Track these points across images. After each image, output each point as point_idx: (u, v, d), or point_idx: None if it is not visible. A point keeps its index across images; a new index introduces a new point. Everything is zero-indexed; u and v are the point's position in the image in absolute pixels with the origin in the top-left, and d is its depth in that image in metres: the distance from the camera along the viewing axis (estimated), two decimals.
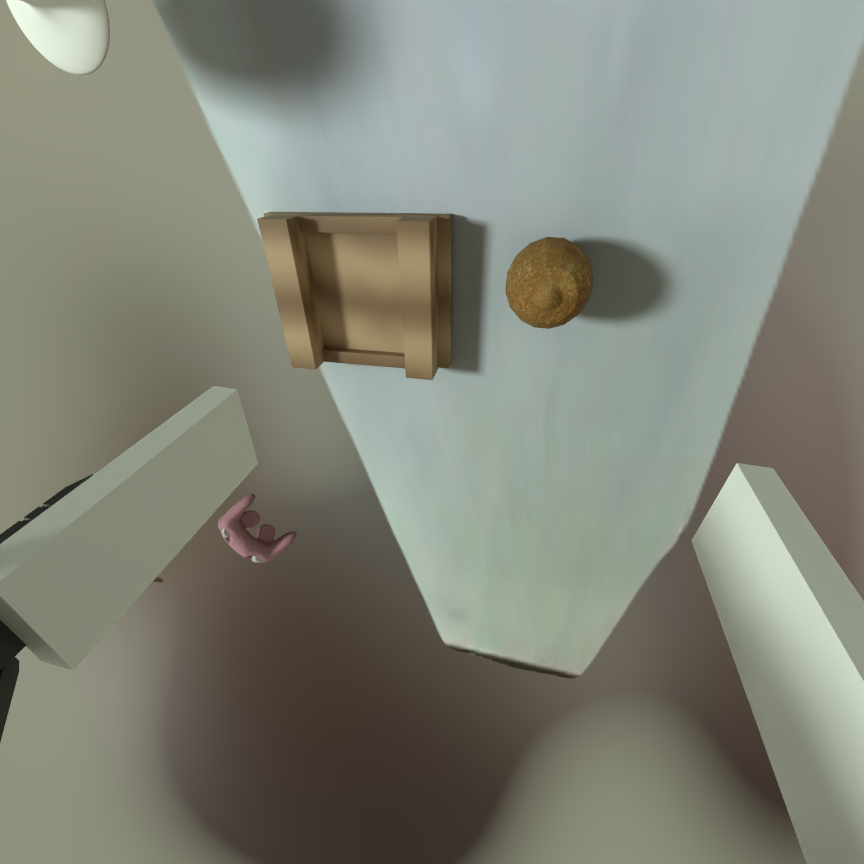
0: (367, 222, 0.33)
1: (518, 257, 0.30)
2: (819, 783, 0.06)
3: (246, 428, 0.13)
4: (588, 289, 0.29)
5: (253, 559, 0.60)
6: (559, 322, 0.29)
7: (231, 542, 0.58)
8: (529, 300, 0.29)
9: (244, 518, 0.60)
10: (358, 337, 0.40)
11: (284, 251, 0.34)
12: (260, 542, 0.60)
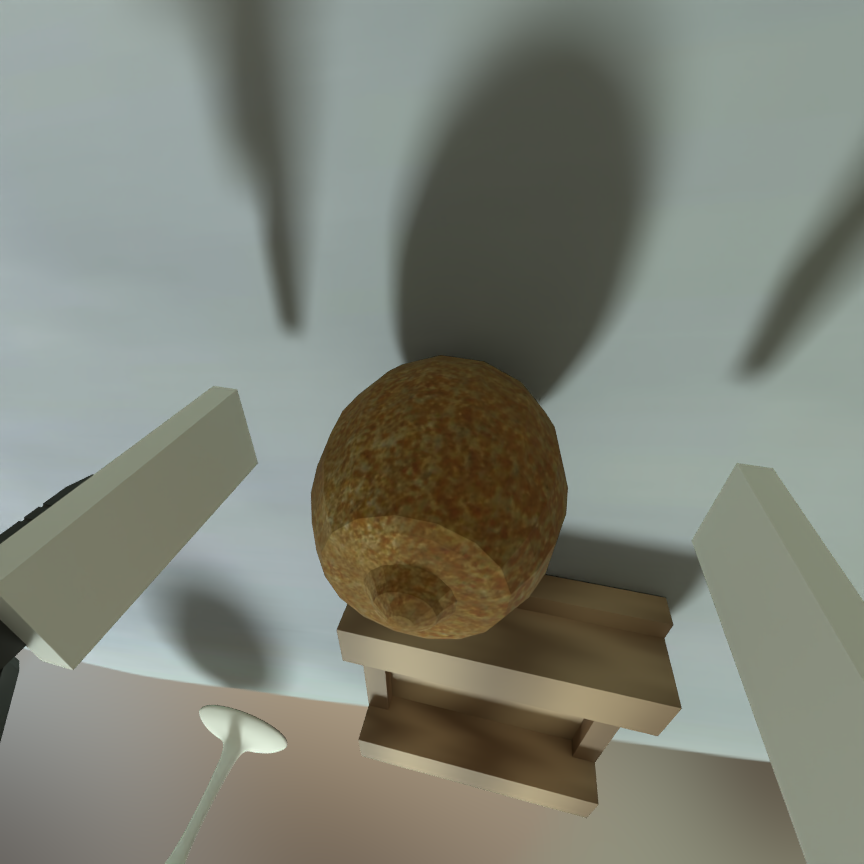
0: None
1: None
2: (819, 783, 0.06)
3: (246, 427, 0.13)
4: (414, 443, 0.08)
5: None
6: (513, 561, 0.08)
7: None
8: None
9: None
10: None
11: (399, 755, 0.24)
12: None
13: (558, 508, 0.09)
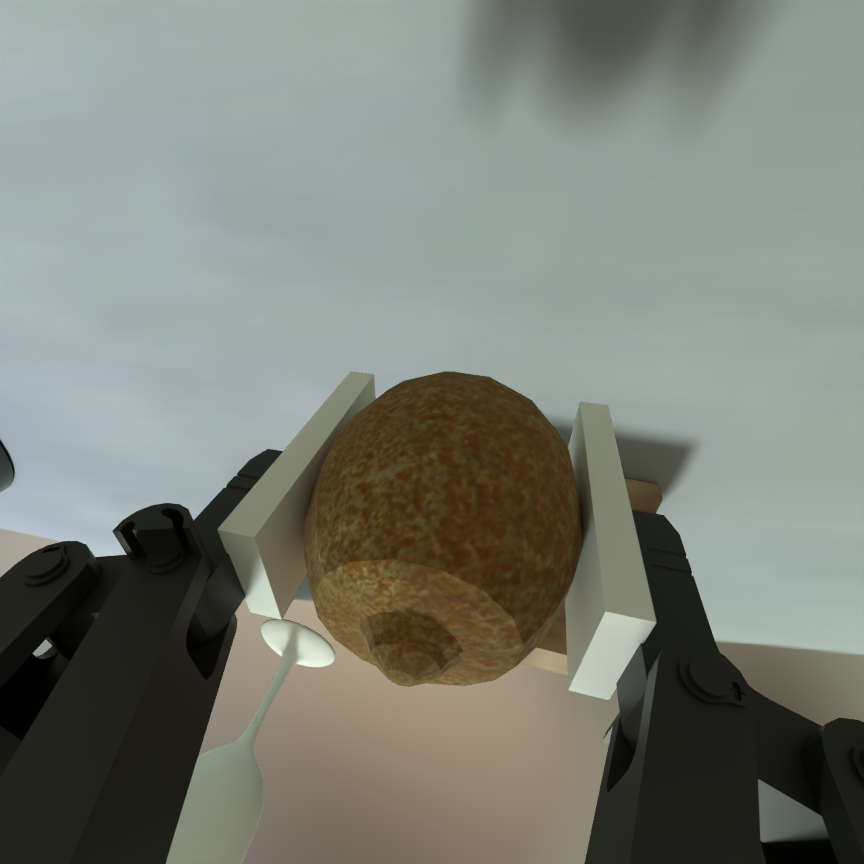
0: None
1: None
2: (576, 616, 0.08)
3: None
4: (415, 476, 0.07)
5: None
6: (526, 607, 0.07)
7: None
8: None
9: None
10: None
11: None
12: None
13: (574, 543, 0.08)
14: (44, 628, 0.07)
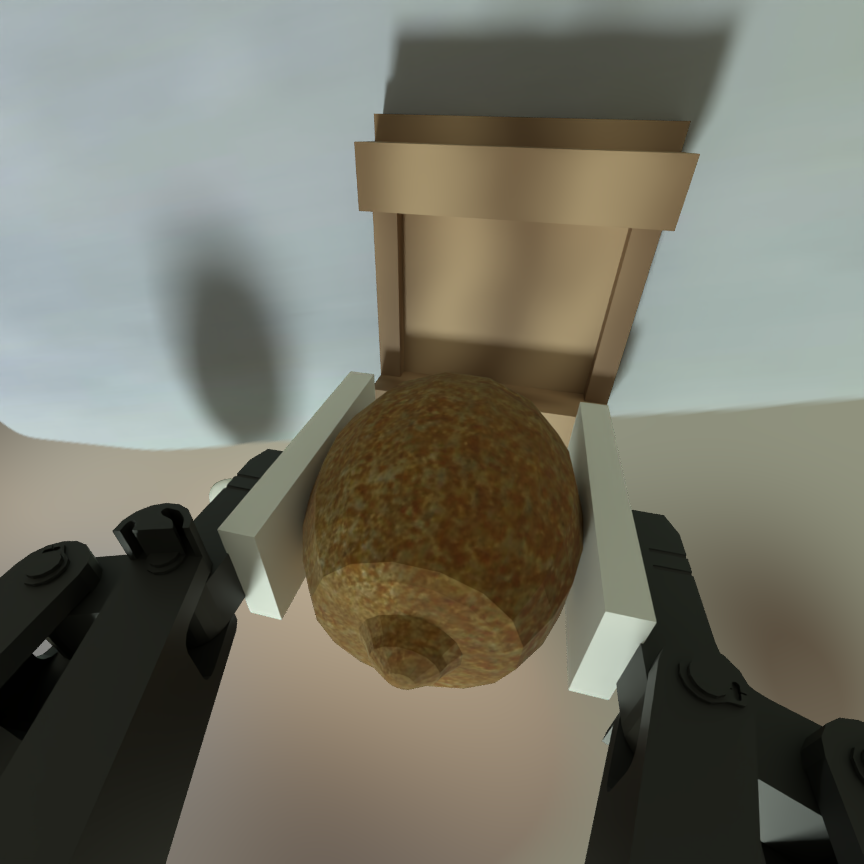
0: (383, 270, 0.21)
1: None
2: (576, 616, 0.08)
3: None
4: (414, 478, 0.07)
5: None
6: (525, 610, 0.07)
7: None
8: None
9: None
10: (575, 330, 0.22)
11: None
12: None
13: (574, 545, 0.08)
14: (44, 628, 0.07)
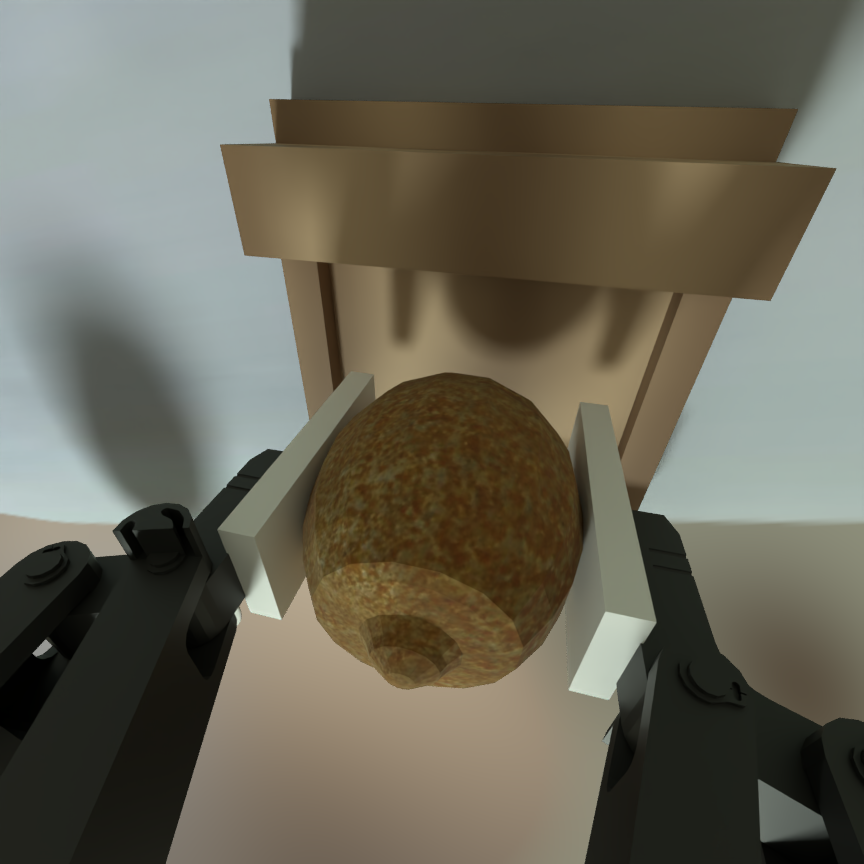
0: (305, 334, 0.15)
1: None
2: (577, 616, 0.08)
3: None
4: (414, 478, 0.07)
5: None
6: (525, 610, 0.07)
7: None
8: None
9: None
10: None
11: None
12: None
13: (574, 545, 0.08)
14: (44, 628, 0.07)
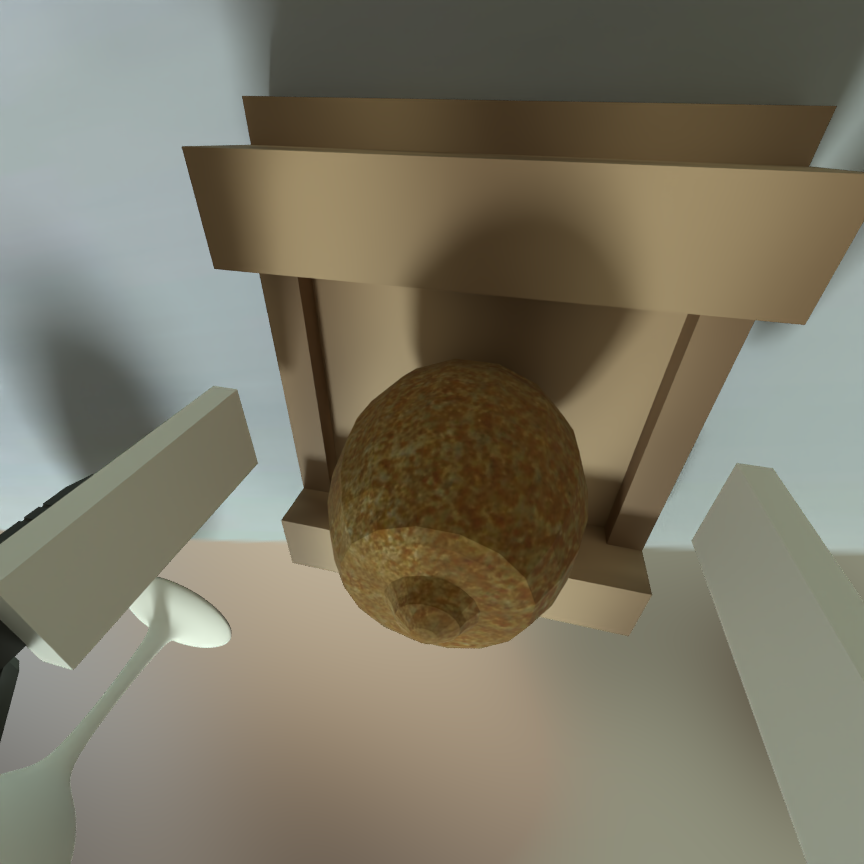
0: (286, 351, 0.13)
1: None
2: (819, 783, 0.06)
3: (246, 427, 0.13)
4: (433, 451, 0.08)
5: None
6: (537, 569, 0.07)
7: None
8: None
9: None
10: (594, 444, 0.14)
11: None
12: None
13: (580, 514, 0.09)
14: None
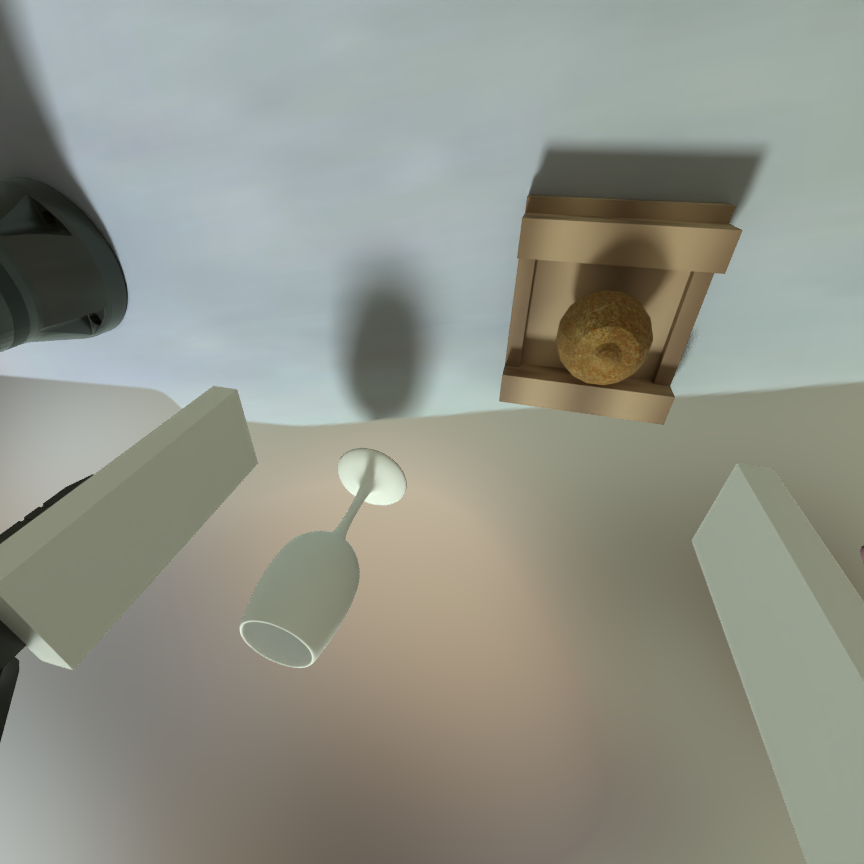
0: (519, 294, 0.32)
1: None
2: (819, 783, 0.06)
3: (246, 427, 0.13)
4: (609, 308, 0.26)
5: None
6: (641, 341, 0.26)
7: None
8: (606, 374, 0.27)
9: None
10: None
11: (530, 386, 0.34)
12: None
13: (651, 334, 0.27)
14: None
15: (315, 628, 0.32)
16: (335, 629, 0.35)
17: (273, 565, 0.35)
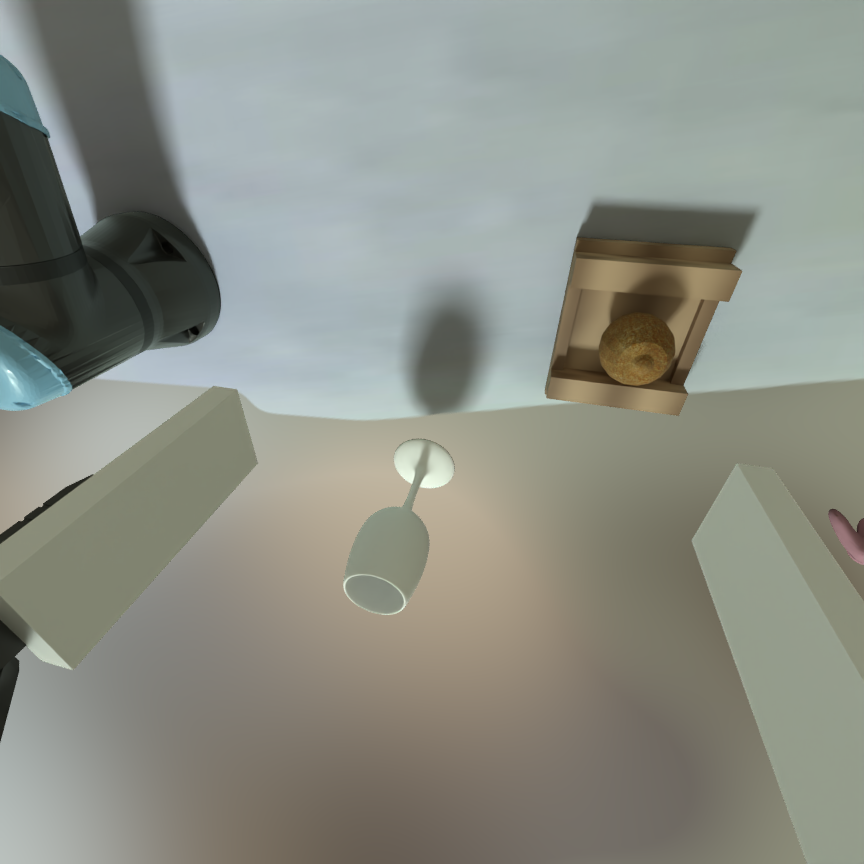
0: (567, 313, 0.40)
1: None
2: (818, 783, 0.06)
3: (246, 427, 0.13)
4: (645, 328, 0.35)
5: None
6: (668, 353, 0.35)
7: None
8: (641, 377, 0.36)
9: None
10: None
11: (573, 386, 0.43)
12: None
13: (674, 347, 0.36)
14: None
15: (406, 580, 0.41)
16: (417, 583, 0.43)
17: (365, 533, 0.44)
